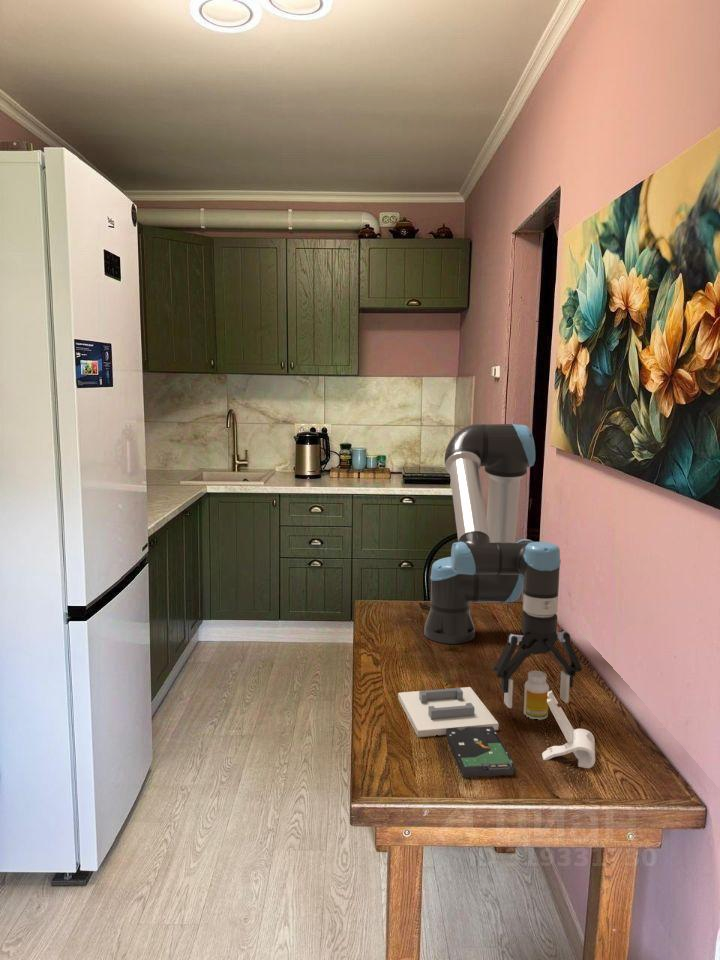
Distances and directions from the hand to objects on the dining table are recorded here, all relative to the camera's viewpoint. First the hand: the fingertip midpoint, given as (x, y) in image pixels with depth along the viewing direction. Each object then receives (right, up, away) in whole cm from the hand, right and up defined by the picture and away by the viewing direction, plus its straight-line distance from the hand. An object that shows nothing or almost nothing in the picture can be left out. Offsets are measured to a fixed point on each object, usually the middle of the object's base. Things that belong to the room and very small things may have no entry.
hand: (536, 702), depth 149 cm
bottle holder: (-20, -3, +1) cm, 21 cm away
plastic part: (+2, -5, -16) cm, 17 cm away
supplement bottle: (0, -3, 0) cm, 3 cm away
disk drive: (-16, -6, -16) cm, 24 cm away
